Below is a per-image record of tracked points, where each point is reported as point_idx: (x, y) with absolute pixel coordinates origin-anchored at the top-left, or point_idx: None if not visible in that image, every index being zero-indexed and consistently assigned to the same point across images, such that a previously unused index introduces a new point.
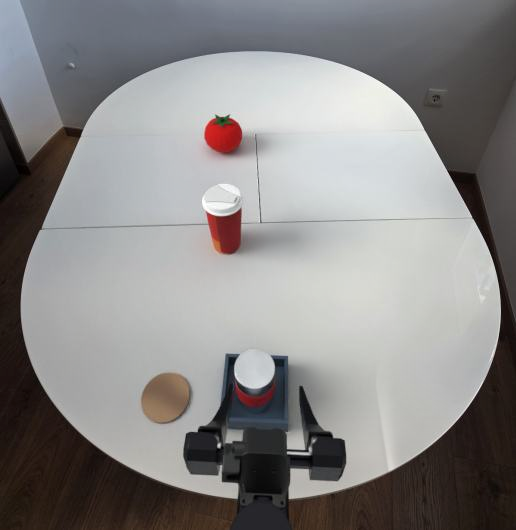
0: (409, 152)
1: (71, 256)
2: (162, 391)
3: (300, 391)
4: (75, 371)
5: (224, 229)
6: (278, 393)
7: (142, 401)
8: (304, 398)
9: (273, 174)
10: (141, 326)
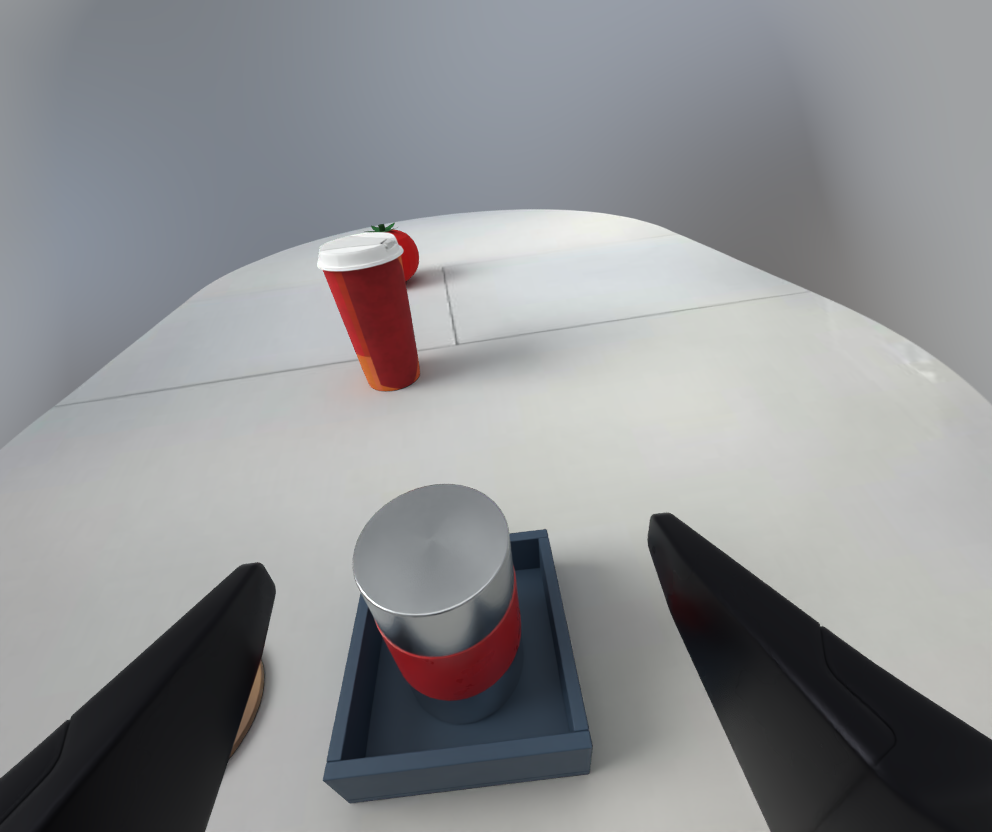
0: (675, 250)
1: (77, 437)
2: None
3: (673, 538)
4: None
5: (371, 316)
6: (536, 643)
7: None
8: (723, 568)
9: (473, 295)
10: (177, 536)
